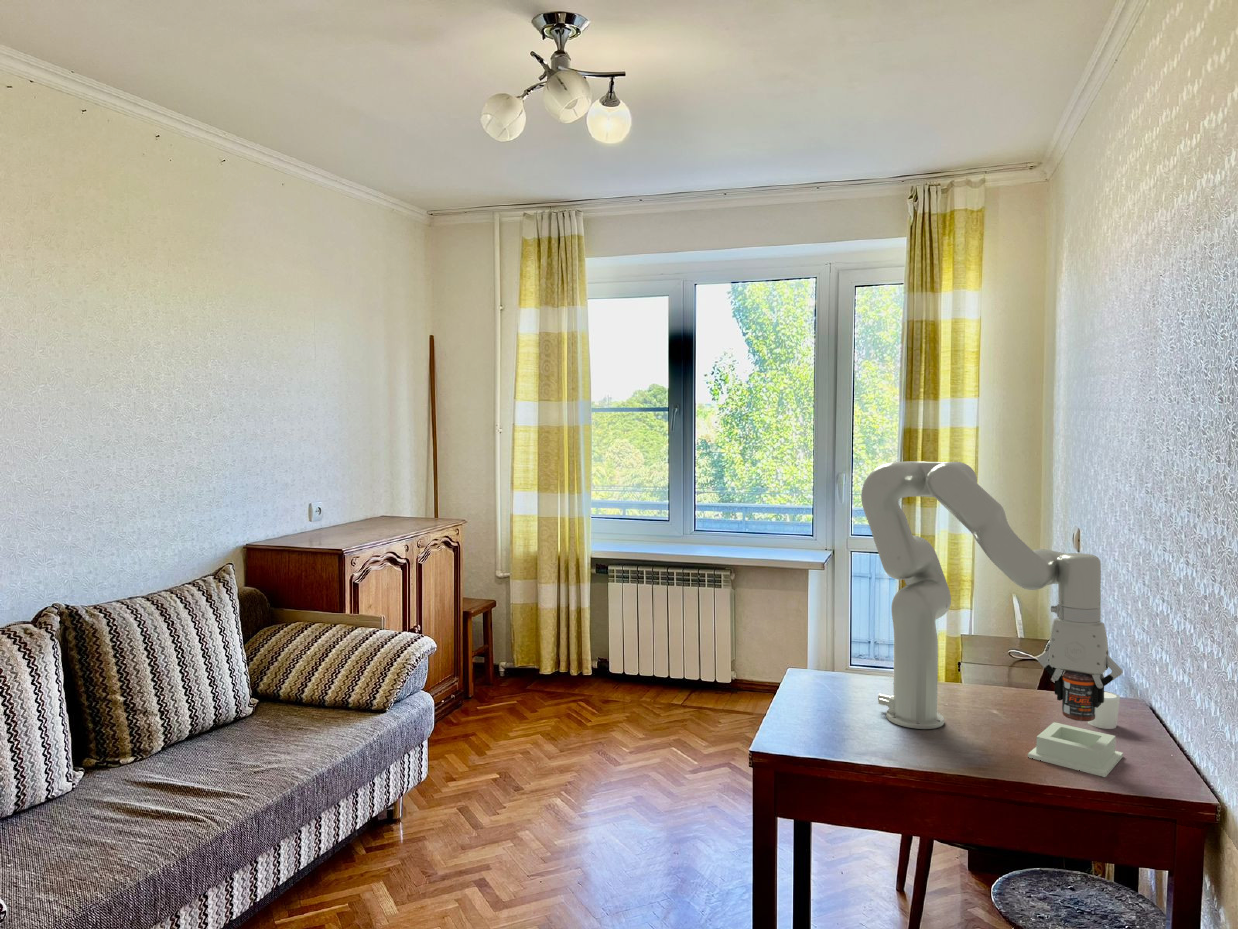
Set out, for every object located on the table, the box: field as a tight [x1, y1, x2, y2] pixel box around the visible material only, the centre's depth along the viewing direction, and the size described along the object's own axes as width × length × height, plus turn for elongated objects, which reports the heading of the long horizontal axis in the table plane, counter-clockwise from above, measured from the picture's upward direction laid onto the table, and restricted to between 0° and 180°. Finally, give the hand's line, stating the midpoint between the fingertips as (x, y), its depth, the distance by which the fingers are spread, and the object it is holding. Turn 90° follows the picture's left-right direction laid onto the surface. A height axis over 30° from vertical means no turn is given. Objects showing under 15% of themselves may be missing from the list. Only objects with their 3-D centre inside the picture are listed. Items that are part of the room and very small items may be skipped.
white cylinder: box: [1087, 690, 1121, 730], centre depth 186 cm, size 7×7×7 cm
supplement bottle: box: [1061, 670, 1095, 722], centre depth 167 cm, size 6×6×11 cm
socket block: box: [1027, 722, 1124, 778], centre depth 168 cm, size 14×14×4 cm
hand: (1079, 701), depth 167 cm, fingers closed on supplement bottle, 6 cm apart
